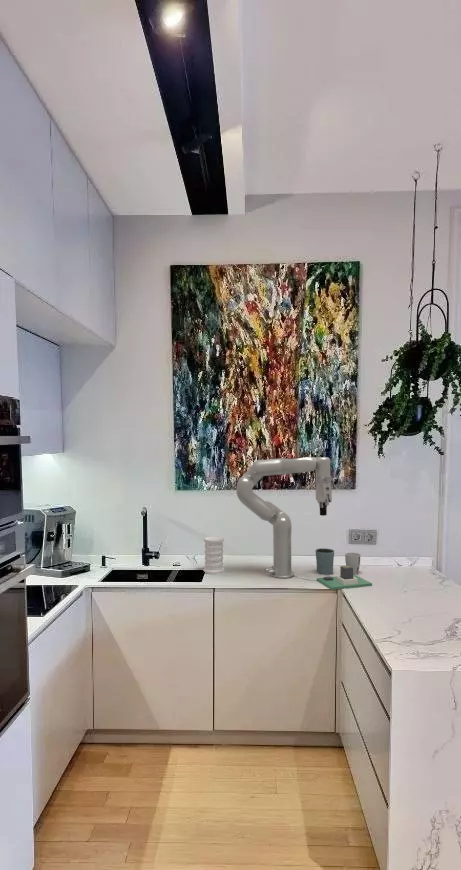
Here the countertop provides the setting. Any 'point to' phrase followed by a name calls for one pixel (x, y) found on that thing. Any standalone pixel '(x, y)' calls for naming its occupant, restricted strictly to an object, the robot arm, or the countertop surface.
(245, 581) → the countertop surface
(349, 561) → the cup
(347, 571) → the plug
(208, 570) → the decorative container
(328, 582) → the board
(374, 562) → the countertop surface
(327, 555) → the dark grey open cylinder
